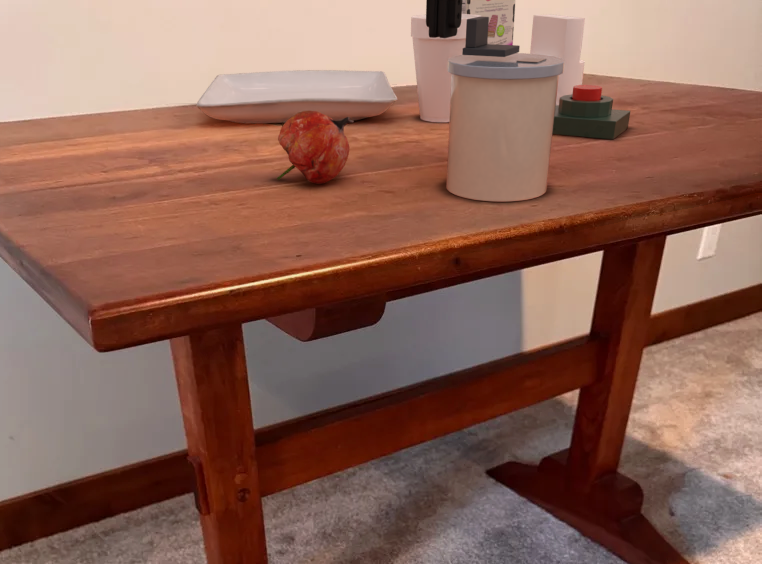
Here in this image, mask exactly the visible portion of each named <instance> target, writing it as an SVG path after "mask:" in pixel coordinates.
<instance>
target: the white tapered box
mask: <svg viewBox="0 0 762 564" xmlns="http://www.w3.org/2000/svg"><path fill="white" fill-rule="evenodd" d="M585 20H586V18H585V17H578V16H569V15H561V14H559V15H558V14H552V13H548V14H547V13H546V14H544V13H543V14H533V16H532V29H531V39H530V48H529V49H530V51H529V54H540V55H548V56H554V57H559V58H562V59H563V60H564V61H565V64H564V72H563V73H562V74H560V75H559V79H558V88H557V97H556V105H559V100H560V97H562V96H564V95H572V93H573V87H574V86H576V85H583V78H584V71H585V64H586V61H585V60H584V59H581V54H582V46H583V38H584V29H585Z"/></svg>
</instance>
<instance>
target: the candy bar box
mask: <svg viewBox="0 0 762 564" xmlns="http://www.w3.org/2000/svg"><path fill="white" fill-rule="evenodd" d="M515 13H516V0H462V14H472V15H480V16H481V17H489V25H488V40H487V44H496V45H514V30H515V16H516V15H515Z"/></svg>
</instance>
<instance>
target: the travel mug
mask: <svg viewBox="0 0 762 564" xmlns="http://www.w3.org/2000/svg"><path fill="white" fill-rule="evenodd" d="M564 64H565V61H564V60H563V59H562V58H559V57H554V56H548V55H540V54H530V53H526V52H525V53H523V52H518V53H515V54H512V55H509V56H506V57H494V56H474V55H460V56H455V57H452V58H449V59H448V66H447V70H448V72H449V73H451V94H450V116H449V122H448V140H447V141H448V143H447V163H446V166H447V167H446V186H445V187H446V190H447V191H448V192H449V193H451V194H452V195H455V196H457V197H460V198H464V199H469V200H474V201H481V202H494V203H495V202H497V203H499V202H500V203H505V202H506V203H508V202H521V201H528V200H532V199H537V198H539V197H541V196H543V195H545V193H546V192H547V189H548V182H549V181H548V180H549V171H550V161H551V152H552V145H553V142H552V141H553V135H554V134H553V125H554V116H555V107H556V97H557V88H558V79H559V75H560V74H562V73H563V72H564Z"/></svg>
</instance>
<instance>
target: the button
mask: <svg viewBox="0 0 762 564" xmlns="http://www.w3.org/2000/svg"><path fill="white" fill-rule="evenodd" d="M602 93H603V87H602V86H601V85H596V84H582V85H576V86H574V87H573V93H572V99H573V100H579V101H598V100H601V95H602Z"/></svg>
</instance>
